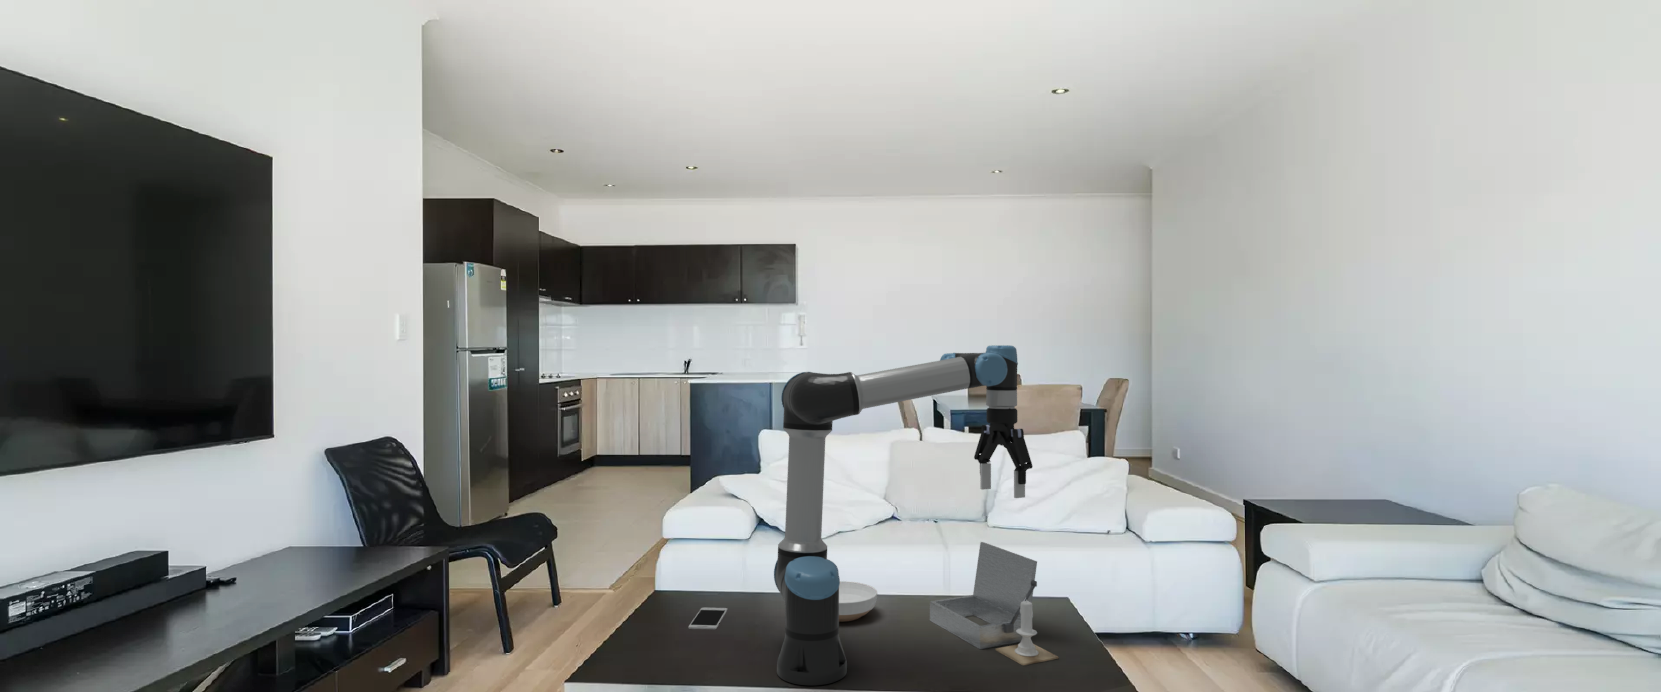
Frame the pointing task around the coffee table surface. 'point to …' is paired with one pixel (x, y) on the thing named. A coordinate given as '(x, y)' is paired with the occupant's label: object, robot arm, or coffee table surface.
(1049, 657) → the mat
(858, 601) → the bowl
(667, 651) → the coffee table surface
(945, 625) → the case
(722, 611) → the smartphone
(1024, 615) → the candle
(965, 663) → the coffee table surface
